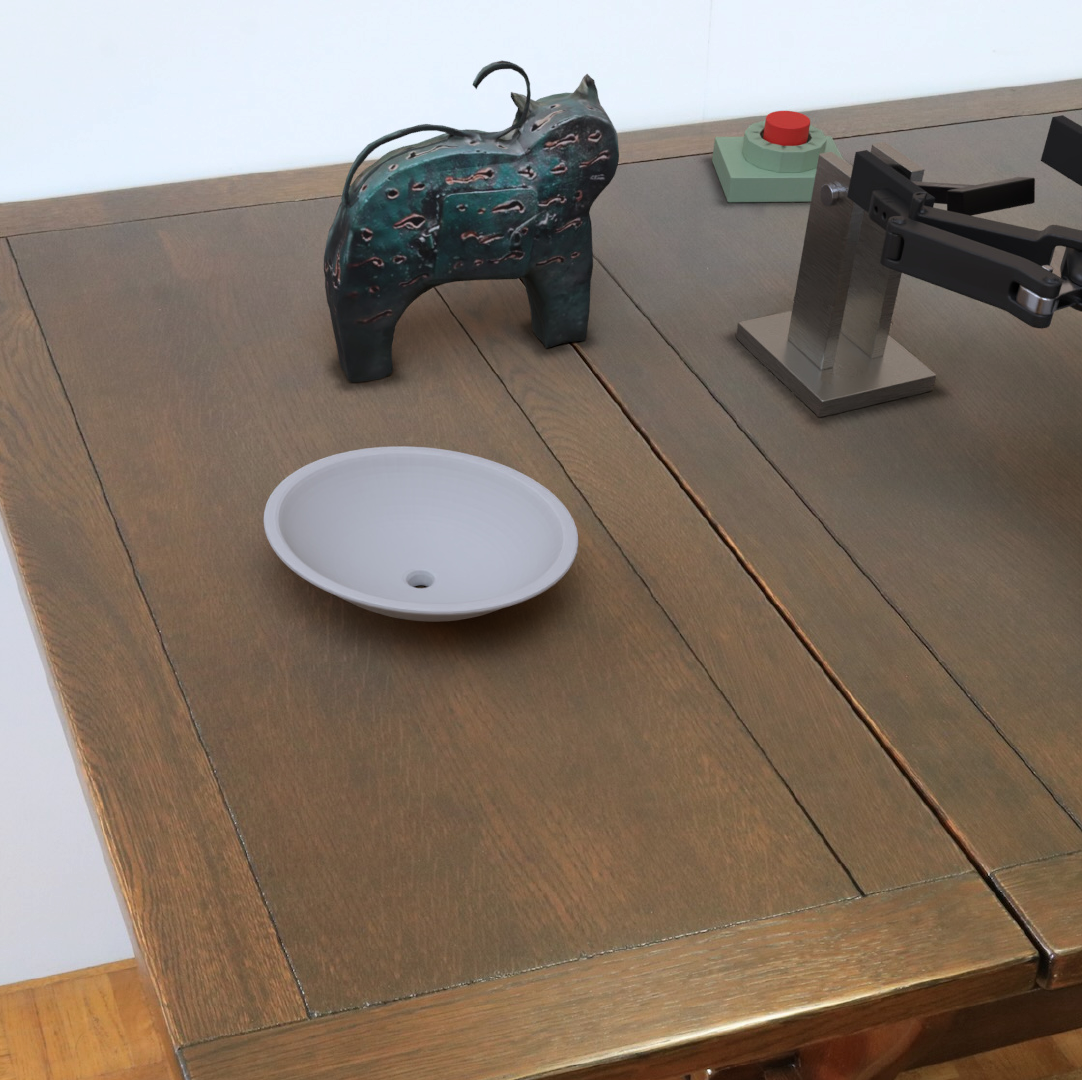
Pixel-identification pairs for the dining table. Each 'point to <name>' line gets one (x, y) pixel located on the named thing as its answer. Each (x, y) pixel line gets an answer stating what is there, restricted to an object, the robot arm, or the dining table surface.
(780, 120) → the button
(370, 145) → the ceramic cat
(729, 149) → the button box
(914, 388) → the bracket
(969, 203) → the lever
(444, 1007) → the dining table surface
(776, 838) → the dining table surface
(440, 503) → the white oval sink basin
